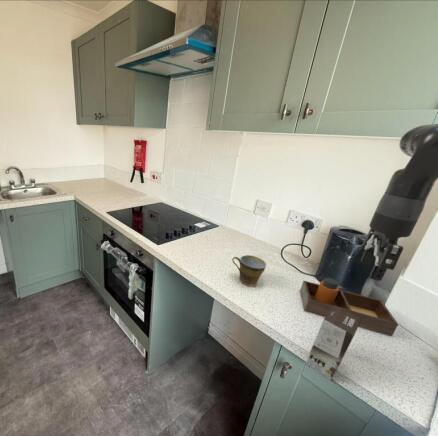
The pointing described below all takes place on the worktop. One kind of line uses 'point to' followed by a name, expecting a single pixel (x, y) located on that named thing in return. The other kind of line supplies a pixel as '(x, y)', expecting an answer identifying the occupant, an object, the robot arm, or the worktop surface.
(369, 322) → the holder
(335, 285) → the spice bottle
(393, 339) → the worktop surface
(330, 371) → the coffee box
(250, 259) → the ceramic cup
